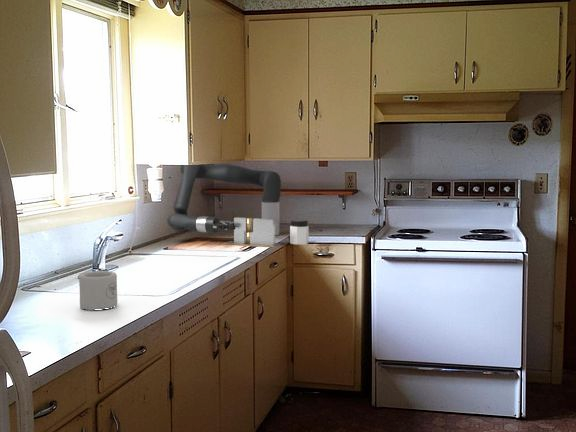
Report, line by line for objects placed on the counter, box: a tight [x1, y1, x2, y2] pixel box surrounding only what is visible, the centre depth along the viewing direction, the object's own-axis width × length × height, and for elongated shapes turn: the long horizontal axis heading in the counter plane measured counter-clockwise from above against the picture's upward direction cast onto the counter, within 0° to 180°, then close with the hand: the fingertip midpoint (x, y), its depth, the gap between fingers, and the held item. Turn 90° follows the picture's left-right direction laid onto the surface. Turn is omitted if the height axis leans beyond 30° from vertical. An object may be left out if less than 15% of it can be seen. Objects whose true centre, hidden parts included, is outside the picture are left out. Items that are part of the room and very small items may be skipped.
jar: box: [289, 218, 310, 245], centre depth 325 cm, size 9×8×12 cm
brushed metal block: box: [233, 217, 253, 244], centre depth 322 cm, size 8×3×12 cm, turn 71°
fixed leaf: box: [246, 217, 276, 246], centre depth 319 cm, size 3×14×12 cm, turn 70°
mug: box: [78, 270, 118, 311], centre depth 206 cm, size 14×11×10 cm
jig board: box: [220, 240, 281, 248], centre depth 322 cm, size 12×26×1 cm, turn 71°
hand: (239, 226), depth 323 cm, fingers open, 8 cm apart
